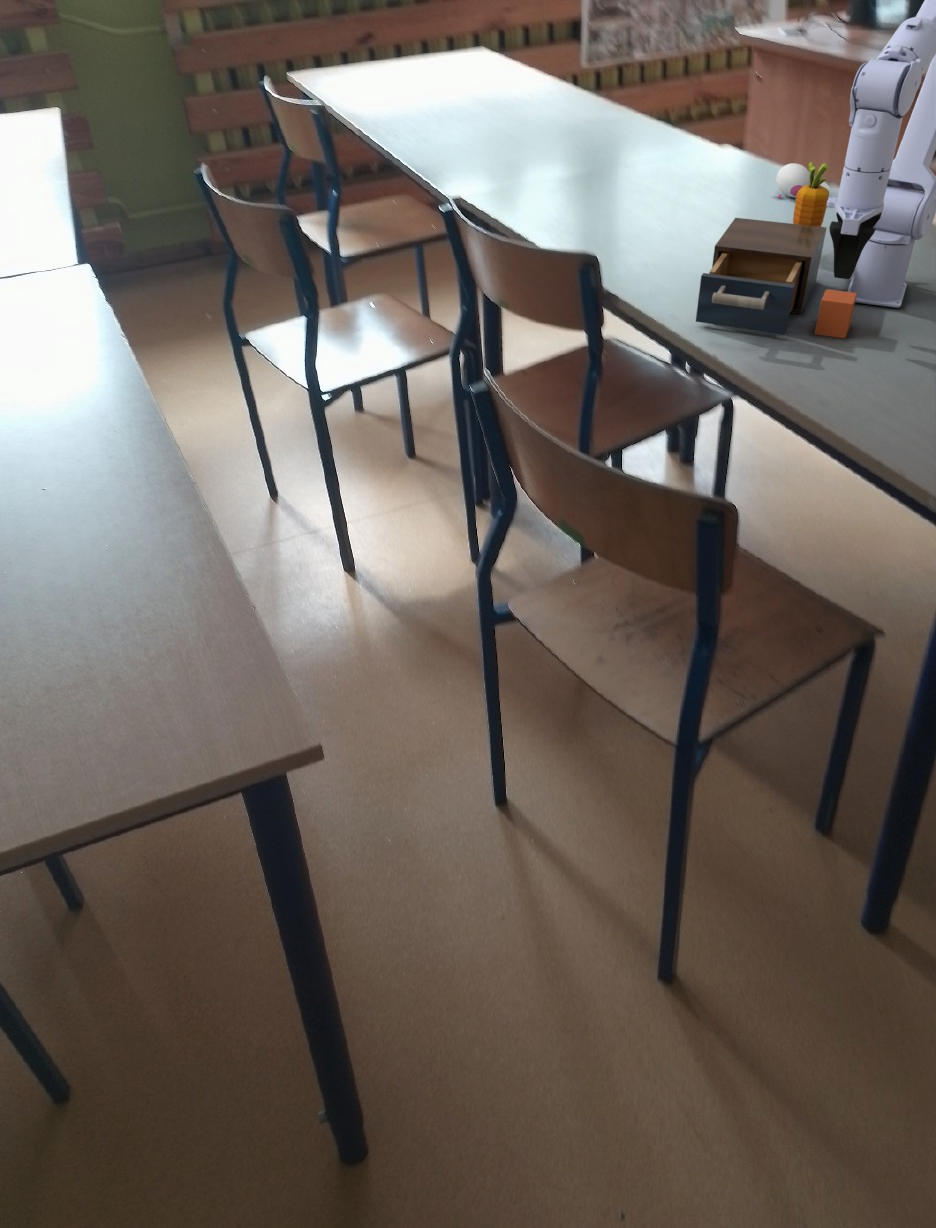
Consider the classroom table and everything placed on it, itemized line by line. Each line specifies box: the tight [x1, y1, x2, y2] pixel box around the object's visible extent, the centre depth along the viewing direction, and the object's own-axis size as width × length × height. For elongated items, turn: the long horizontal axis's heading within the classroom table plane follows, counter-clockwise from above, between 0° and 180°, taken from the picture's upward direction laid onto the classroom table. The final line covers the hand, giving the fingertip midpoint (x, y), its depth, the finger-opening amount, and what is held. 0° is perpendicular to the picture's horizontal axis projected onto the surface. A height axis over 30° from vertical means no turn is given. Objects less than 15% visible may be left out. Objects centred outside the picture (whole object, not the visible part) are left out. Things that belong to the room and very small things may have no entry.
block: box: [814, 289, 857, 339], centre depth 138 cm, size 4×4×5 cm
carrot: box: [792, 161, 830, 227], centre depth 157 cm, size 5×5×15 cm
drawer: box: [695, 252, 804, 335], centre depth 140 cm, size 17×13×7 cm
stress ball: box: [776, 162, 810, 199], centre depth 186 cm, size 8×8×7 cm
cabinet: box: [711, 217, 827, 315], centre depth 149 cm, size 13×14×8 cm
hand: (844, 272), depth 134 cm, fingers open, 4 cm apart
